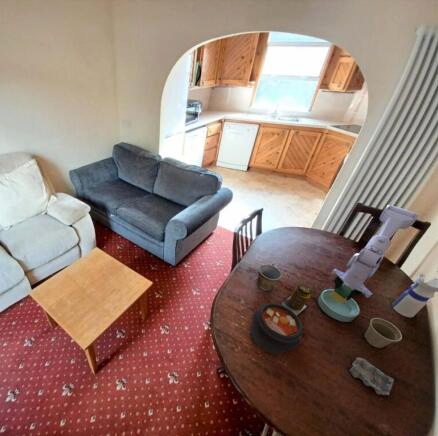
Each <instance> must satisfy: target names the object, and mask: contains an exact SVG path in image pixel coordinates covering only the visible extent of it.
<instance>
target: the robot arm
mask: <svg viewBox="0 0 438 436" xmlns="http://www.w3.org/2000/svg"><path fill="white" fill-rule="evenodd" d="M419 216H420V214H419V213H418V212H414V211H411V210H407V209H405V208H401V207H398V206H395V205H392V204H387V206H386V207H384V210H382V212H381V214H380V216H379V221H380V222H381V223H383V224H382V227H381V229H380V230H379V232H378V233H377V235H373V236H372V237H371V238H370V240H369V241H368V242H367V244H366V246H364V248H362V249H360V251H359V253H357V252H356V253H354V254H353V256H352V257H351V258H350V259H349V260H348V262H347V264H346V268H347V270H346V271H345V272H344V271H341V270H339V269H338V268H335V269H332V271H331V274H332V275H334V276H336V277H335V278H334V279H333V281H334V290H335V289H337V288H339V287H340V286H342V285H346V286H347V287H350V288H351V289H352V291H351V293H350V295H349V296H348V297H347V299H346V300H347V301H348V300H350V299H351V298H352V299H353V298H355V297H358V296H360V295H364V297H365V298H366V299H368V298H371V296H372V295H373V294H374V293H373V292H372V291H370V290H369V289H368V288H367V287H366V286H365V285H364V282H365V281H366V280H367V279H370V278H372V277H373V275H374V274H375V273H376V271H378V268H379V267H380V263H382V261H383V259H384V256H385V255H386V252H387V250H388V249H389V248H390V246H391V245H392V241H391V240H390V239H391V238H392V237H393V236H394V234H395V233H396V232H397V231H398V230H400V229H401V230H407V229H409V228H410V227H412V226H413V225H414V223H415V222H416V221H417V219H418V218H419Z"/></svg>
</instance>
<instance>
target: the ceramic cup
mask: <svg viewBox="0 0 438 436" xmlns="http://www.w3.org/2000/svg"><path fill="white" fill-rule="evenodd" d="M282 274H283V273H282V272H281V270H280V269H279V268H278V267H276V266H275V263H272V264H266V263H264V264H261V265H260V266H259V267H258V273H257V283H256V285H257V286H258V287H259V289H261V290H263V291H271V290H272V289H273V288H274V286H275V285H276V284H277V283H278V282H279V281H280V280H281V278H282V276H283V275H282Z"/></svg>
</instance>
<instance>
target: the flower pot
mask: <svg viewBox="0 0 438 436" xmlns="http://www.w3.org/2000/svg"><path fill="white" fill-rule="evenodd" d="M363 336H364V339H365V341H366V342H367V343H368V344H369V345H370V346H373V347H375V348H379V349H382V348H384V347H386V346H388V345H390V344H392V343H397V342H401V340H402V339H403V335H402V333H401V331H400V329H399V328H398V327H397V326H395V325H394V324H393V323H391V322H390V321H388V320H386V319H383V318H381V317H373V318H371V319H370V321H369V326H368V328H367V330H366V331H365V333H364V335H363Z"/></svg>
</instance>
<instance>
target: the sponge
mask: <svg viewBox="0 0 438 436" xmlns="http://www.w3.org/2000/svg"><path fill="white" fill-rule="evenodd" d="M333 290H334V291H333V293H332V294H331V297H332V298H334V299H335V300H336V301H338V302H339V303H340V304H341V303H343V302H345V301H346V299H347V297H348V296H349V295H350V293H351V291H352V289H351V288H350V287H347V286H346V285H342V286H340V287H339V288H337V289H335V288H334V289H333Z"/></svg>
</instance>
